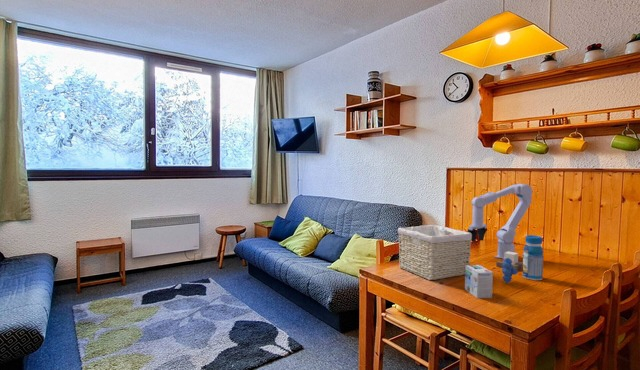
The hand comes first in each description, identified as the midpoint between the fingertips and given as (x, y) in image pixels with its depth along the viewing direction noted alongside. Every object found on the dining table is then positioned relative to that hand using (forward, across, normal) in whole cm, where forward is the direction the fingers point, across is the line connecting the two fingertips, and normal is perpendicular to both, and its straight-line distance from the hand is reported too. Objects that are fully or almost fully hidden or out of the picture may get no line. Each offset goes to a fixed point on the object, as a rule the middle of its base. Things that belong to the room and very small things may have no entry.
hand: (477, 241), depth 206 cm
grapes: (+10, +30, +35) cm, 47 cm away
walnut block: (+10, +4, +22) cm, 24 cm away
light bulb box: (+10, +53, +34) cm, 64 cm away
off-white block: (+7, +4, +22) cm, 23 cm away
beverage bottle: (+10, +13, +37) cm, 40 cm away
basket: (+10, +43, +3) cm, 44 cm away
